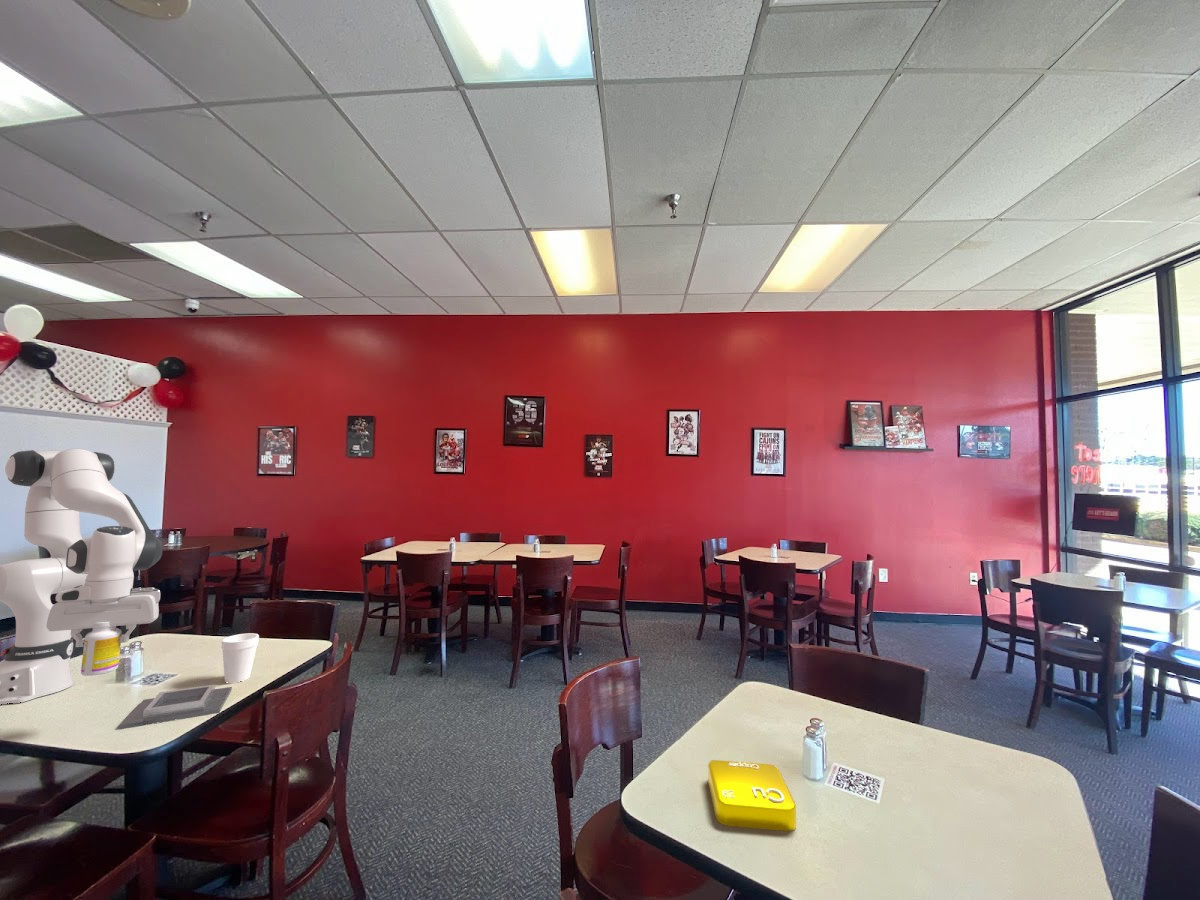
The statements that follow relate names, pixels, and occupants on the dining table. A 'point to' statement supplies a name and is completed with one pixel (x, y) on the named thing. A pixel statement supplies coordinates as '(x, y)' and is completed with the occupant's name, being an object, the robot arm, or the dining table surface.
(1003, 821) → the dining table surface
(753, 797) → the element tile
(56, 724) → the dining table surface
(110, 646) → the supplement bottle
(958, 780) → the dining table surface
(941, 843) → the dining table surface
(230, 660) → the foam cup
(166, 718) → the grey tray
